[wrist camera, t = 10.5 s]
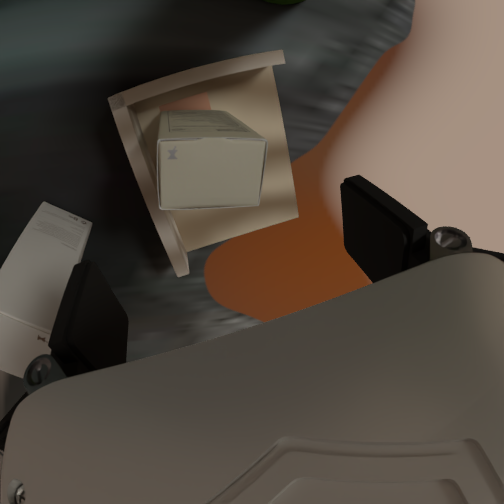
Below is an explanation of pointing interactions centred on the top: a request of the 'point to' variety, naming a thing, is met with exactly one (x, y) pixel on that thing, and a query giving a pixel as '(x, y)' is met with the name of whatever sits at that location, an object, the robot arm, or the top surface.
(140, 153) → the tray
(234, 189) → the skincare box
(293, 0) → the wine bottle
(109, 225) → the top surface
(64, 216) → the skincare box
